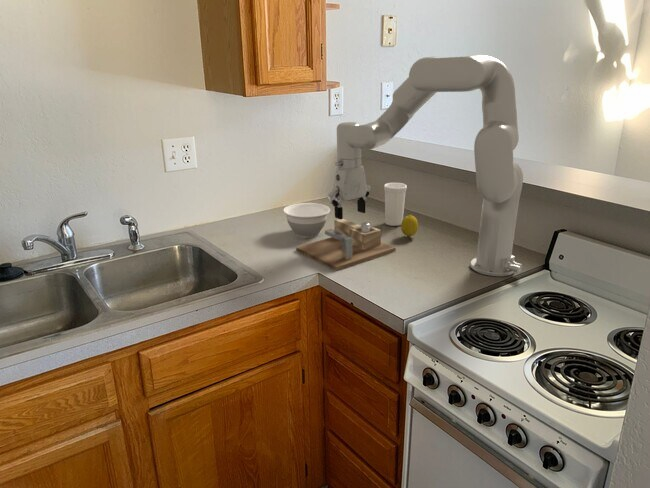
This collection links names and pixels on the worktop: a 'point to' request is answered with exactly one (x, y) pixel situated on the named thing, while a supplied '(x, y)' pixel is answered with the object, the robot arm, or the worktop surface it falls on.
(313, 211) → the bowl
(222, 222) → the worktop surface
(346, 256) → the bracket
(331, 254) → the board
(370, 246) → the link
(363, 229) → the ball
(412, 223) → the lemon
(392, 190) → the cup
